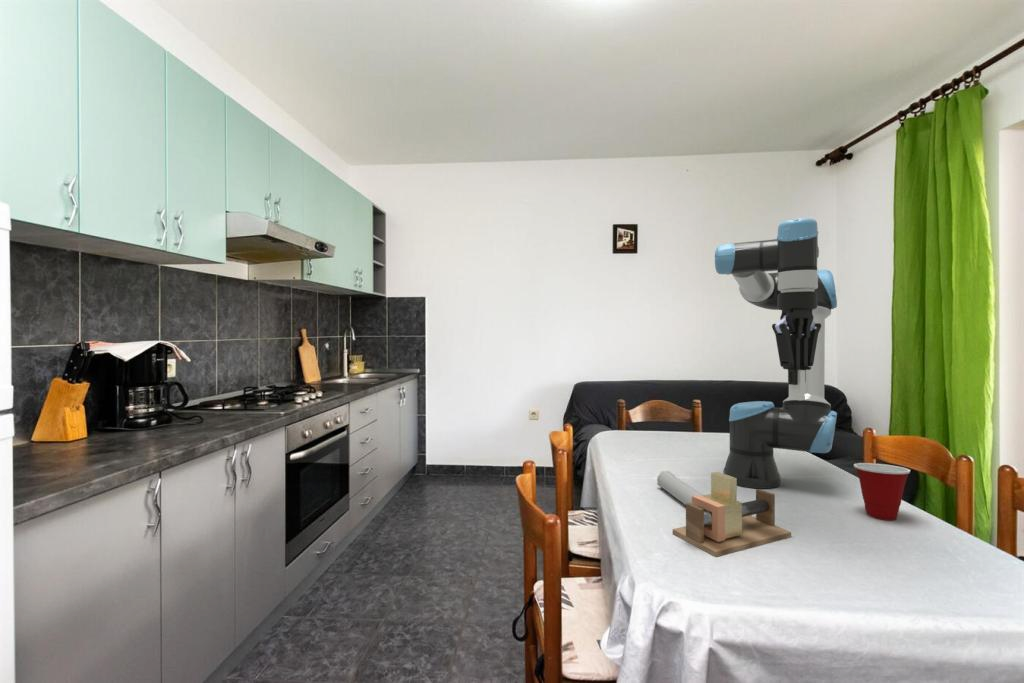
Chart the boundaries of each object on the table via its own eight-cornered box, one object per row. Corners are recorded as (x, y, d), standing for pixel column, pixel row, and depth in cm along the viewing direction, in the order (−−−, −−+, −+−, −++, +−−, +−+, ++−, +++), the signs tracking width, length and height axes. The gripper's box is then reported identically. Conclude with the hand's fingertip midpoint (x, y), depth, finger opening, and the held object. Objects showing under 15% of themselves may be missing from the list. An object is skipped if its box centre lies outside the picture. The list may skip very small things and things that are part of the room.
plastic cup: (893, 508, 119) (893, 460, 119) (921, 526, 109) (921, 473, 108) (844, 506, 121) (844, 458, 121) (867, 522, 111) (867, 471, 110)
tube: (727, 505, 112) (676, 473, 137) (707, 499, 112) (660, 468, 136) (720, 527, 112) (671, 491, 137) (700, 521, 112) (654, 486, 136)
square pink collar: (698, 527, 106) (698, 494, 106) (725, 540, 99) (725, 505, 99) (691, 528, 105) (691, 496, 105) (718, 542, 98) (717, 507, 98)
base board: (744, 517, 115) (744, 483, 115) (791, 536, 104) (791, 499, 104) (672, 533, 106) (672, 497, 106) (715, 556, 95) (715, 516, 95)
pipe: (759, 509, 110) (759, 496, 110) (771, 513, 108) (771, 500, 108) (689, 525, 102) (689, 511, 102) (700, 530, 99) (700, 515, 99)
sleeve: (716, 522, 108) (716, 470, 107) (741, 534, 101) (741, 478, 101) (699, 526, 106) (699, 473, 105) (724, 538, 99) (724, 482, 99)
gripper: (800, 293, 111) (800, 395, 111) (760, 292, 106) (760, 399, 106) (833, 291, 104) (833, 399, 104) (792, 289, 99) (792, 403, 99)
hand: (796, 399), depth 105 cm, fingers closed
